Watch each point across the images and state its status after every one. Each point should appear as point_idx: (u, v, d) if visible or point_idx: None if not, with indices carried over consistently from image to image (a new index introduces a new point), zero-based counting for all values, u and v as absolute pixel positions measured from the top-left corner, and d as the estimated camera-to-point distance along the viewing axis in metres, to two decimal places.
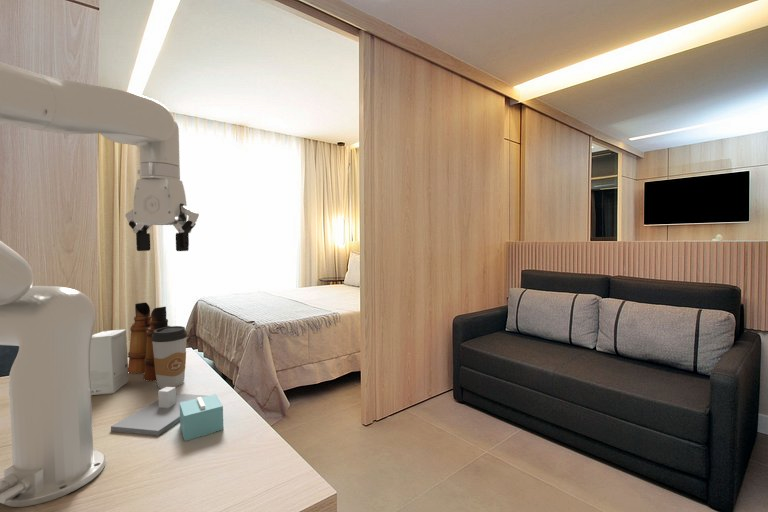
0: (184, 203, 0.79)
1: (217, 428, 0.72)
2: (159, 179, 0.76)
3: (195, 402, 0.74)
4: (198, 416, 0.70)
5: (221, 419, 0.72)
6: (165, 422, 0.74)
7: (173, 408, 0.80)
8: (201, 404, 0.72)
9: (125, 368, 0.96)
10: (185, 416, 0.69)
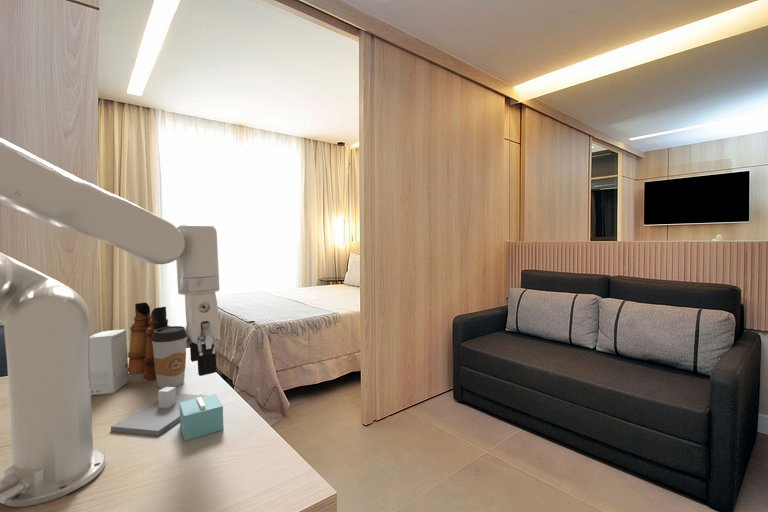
0: None
1: (217, 428, 0.72)
2: None
3: (195, 402, 0.74)
4: (198, 416, 0.70)
5: (221, 419, 0.72)
6: (165, 422, 0.74)
7: (173, 408, 0.80)
8: (201, 404, 0.72)
9: (125, 368, 0.96)
10: (185, 416, 0.69)
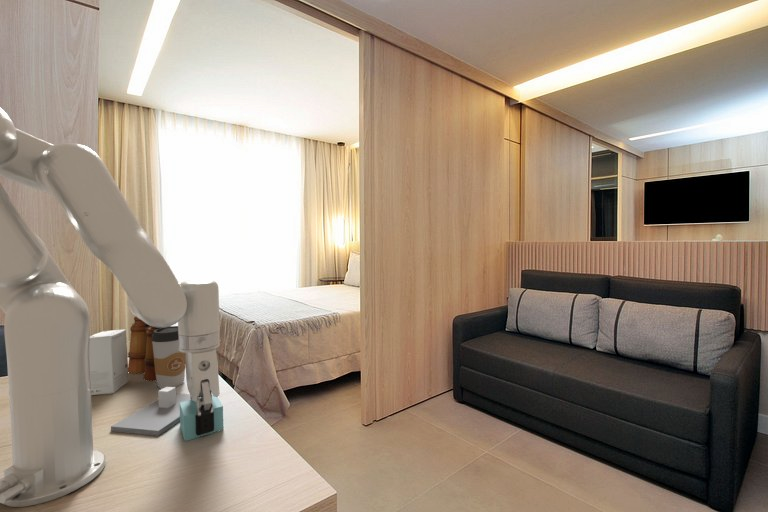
0: None
1: (217, 428, 0.72)
2: None
3: (195, 402, 0.74)
4: None
5: (221, 419, 0.72)
6: (165, 422, 0.74)
7: (173, 408, 0.80)
8: (201, 404, 0.72)
9: (125, 368, 0.96)
10: (185, 416, 0.69)
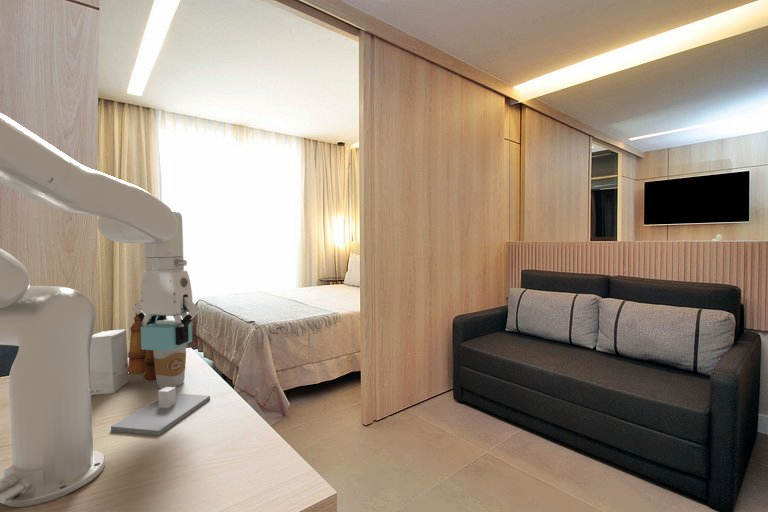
0: None
1: (188, 340, 0.82)
2: None
3: (158, 324, 0.80)
4: None
5: (190, 332, 0.83)
6: (165, 422, 0.74)
7: (173, 408, 0.80)
8: (172, 321, 0.80)
9: (125, 368, 0.96)
10: (169, 328, 0.77)
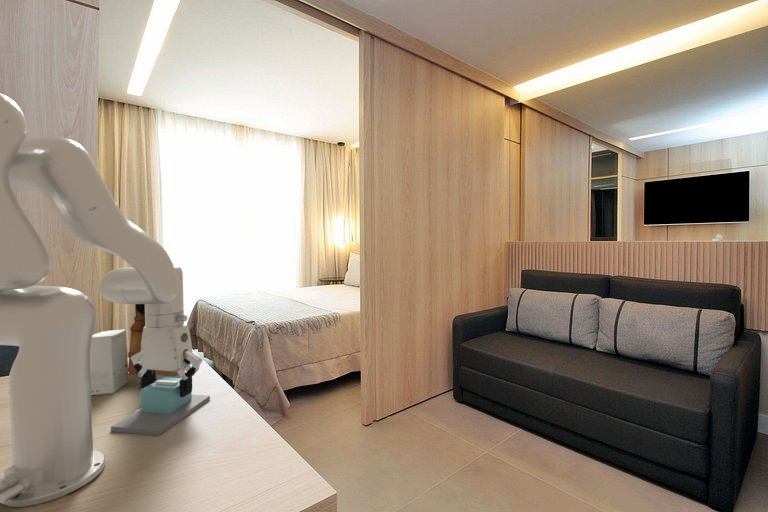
0: None
1: (188, 398, 0.83)
2: None
3: (158, 384, 0.81)
4: (177, 390, 0.80)
5: None
6: (165, 422, 0.74)
7: None
8: (172, 382, 0.81)
9: (125, 368, 0.96)
10: (169, 391, 0.77)
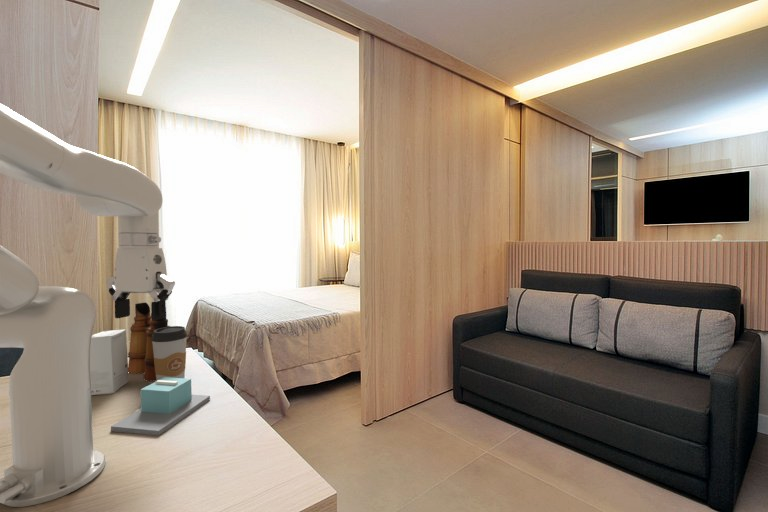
0: None
1: (188, 398, 0.83)
2: None
3: (158, 384, 0.81)
4: (177, 390, 0.80)
5: (190, 390, 0.84)
6: (165, 422, 0.74)
7: None
8: (172, 382, 0.81)
9: (125, 368, 0.96)
10: (169, 391, 0.77)
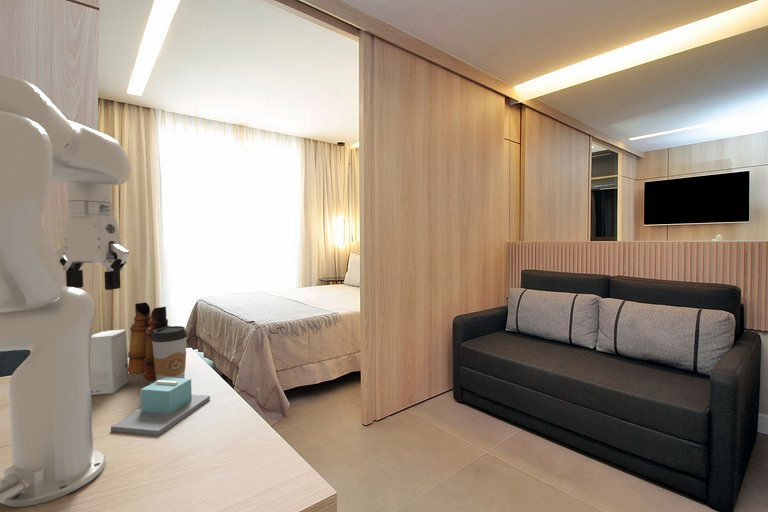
0: None
1: (188, 398, 0.83)
2: None
3: (158, 384, 0.81)
4: (177, 390, 0.80)
5: (190, 390, 0.84)
6: (165, 422, 0.74)
7: None
8: (172, 382, 0.81)
9: (125, 368, 0.96)
10: (169, 391, 0.77)
